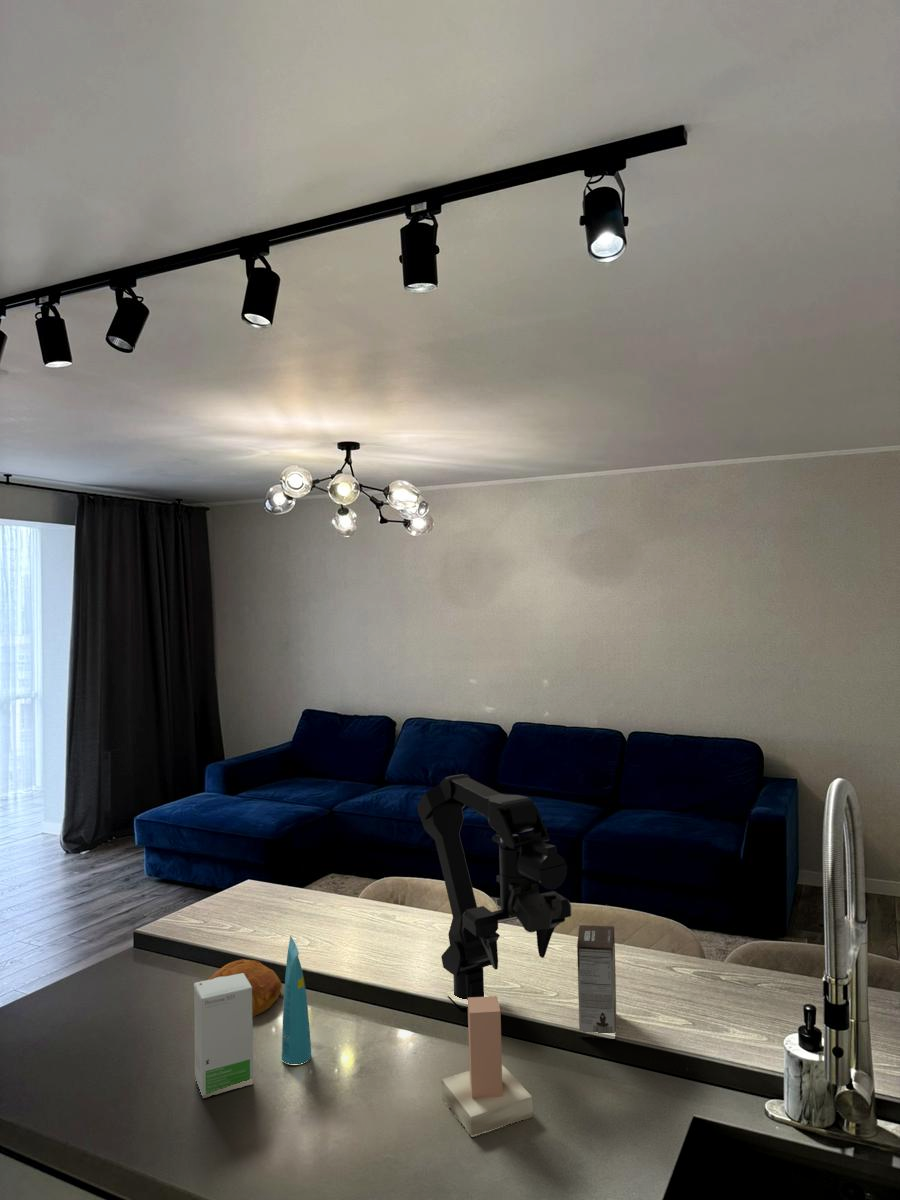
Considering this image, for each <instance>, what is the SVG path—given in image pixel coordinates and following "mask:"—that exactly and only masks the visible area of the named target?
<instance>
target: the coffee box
mask: <svg viewBox="0 0 900 1200" xmlns="http://www.w3.org/2000/svg"><path fill="white" fill-rule="evenodd" d="M615 941H616V940H615V926H613V925H611V926H609V925H595V924H594V925H582V924H580V925H579V926H578V934H577V944H576V947H577V948H576V949H577V951H576V952H577V986H578V987H577V991H578V995H577V996H578V1027H579V1029H578V1030H579V1031H583V1032H598V1033H615V1032H616V1033H617V986H616V985H617V983H616V981H617V980H616V944H615Z"/></svg>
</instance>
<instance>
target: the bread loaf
mask: <svg viewBox="0 0 900 1200" xmlns="http://www.w3.org/2000/svg"><path fill="white" fill-rule="evenodd" d="M241 973H244V975H245V976H246V978H247V980H248V981H249V983H250V985H251V986H252V1018H254V1017H256V1016H257V1015H259V1014H262V1013H264V1012H265V1011H267V1010H268V1009H269V1008H271V1007H272V1006H273V1005H274V1004H275V1001H277V1000H278V999H279V996H280V995H281V990H282V981H281V978H279V976H278V975H277V973H276V972H275V971H274V970H273V969H271V968H269V967H267V966H266V965H264V964H262V963H261V961H259V960H254V959H253V960H252V959H246V958H245V959H244V958H243V959H238V960H234V961H231V962H229V963H227V964H225V965H224V966H222V967H220V968H219V969H218V970H217V971H214V973H213V974H212V975H211V976H209V977H208V978H207V980H211V979H214V978H217V977H226V976H231V975H236V974H241Z"/></svg>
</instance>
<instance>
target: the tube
mask: <svg viewBox="0 0 900 1200" xmlns="http://www.w3.org/2000/svg"><path fill="white" fill-rule="evenodd" d="M299 954H300V952H299V949H298V946H297V944H296V942H295V940H294V938H293V936H292V934H290V936H289V943H288V948H287V955H286V956H287V957H286V966H285V967H286V968H285V979H284V989H283V990H284V992H283V993H284V994H283V1007H282V1030H281V1031H282V1032H281V1035H282V1036H281V1037H282V1038H281V1061H282V1060H283V1061H284V1062H286V1063H289V1064H301V1063H304V1062H306V1061H307V1060H309V1059H310V1060H311V1058H312V1043H311V1029H310V1017H309V1008H308V999H307V992H306V991H307V989H306V984H305V977H304V973H303V968H302V965H301V962H300V957H299ZM310 1060H309V1061H310ZM306 1063H307V1062H306Z"/></svg>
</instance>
